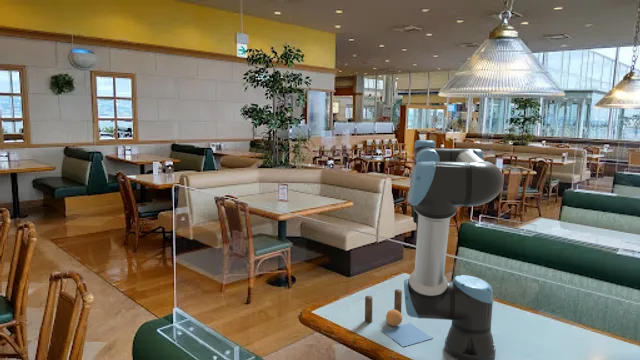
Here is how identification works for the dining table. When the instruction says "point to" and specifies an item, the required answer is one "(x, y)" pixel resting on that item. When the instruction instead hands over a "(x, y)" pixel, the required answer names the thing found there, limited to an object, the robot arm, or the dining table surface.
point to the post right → (398, 300)
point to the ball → (394, 317)
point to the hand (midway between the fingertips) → (421, 242)
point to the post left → (368, 309)
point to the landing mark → (407, 334)
